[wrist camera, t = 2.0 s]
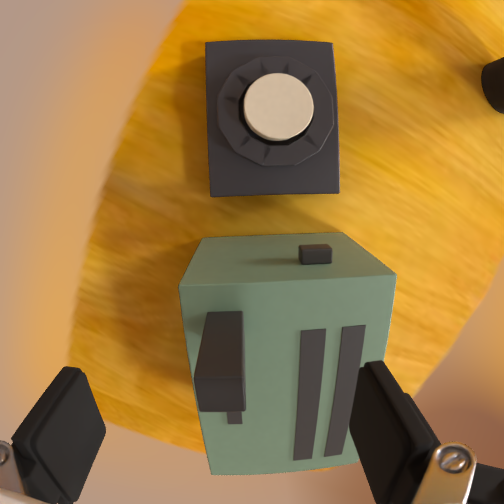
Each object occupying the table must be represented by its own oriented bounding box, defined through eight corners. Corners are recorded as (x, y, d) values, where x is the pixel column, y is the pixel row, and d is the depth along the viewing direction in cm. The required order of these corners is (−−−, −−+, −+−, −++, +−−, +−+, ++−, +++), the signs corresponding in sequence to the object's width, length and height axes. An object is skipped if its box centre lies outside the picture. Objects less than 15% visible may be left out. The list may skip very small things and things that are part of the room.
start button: (242, 81, 16) (242, 73, 15) (305, 81, 17) (312, 73, 15) (244, 141, 17) (245, 139, 16) (308, 141, 17) (315, 139, 16)
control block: (208, 53, 19) (202, 32, 15) (324, 53, 19) (339, 33, 15) (213, 193, 22) (207, 200, 18) (330, 190, 22) (348, 196, 18)
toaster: (201, 226, 22) (175, 268, 14) (343, 221, 22) (399, 257, 14) (217, 394, 26) (211, 475, 18) (331, 387, 27) (358, 463, 18)
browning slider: (207, 310, 14) (192, 377, 9) (243, 309, 14) (244, 376, 9) (210, 341, 15) (198, 413, 10) (244, 340, 15) (246, 412, 10)
